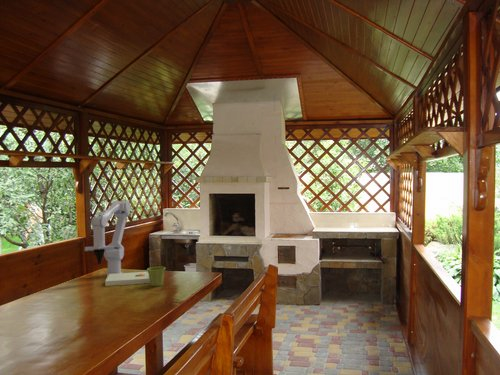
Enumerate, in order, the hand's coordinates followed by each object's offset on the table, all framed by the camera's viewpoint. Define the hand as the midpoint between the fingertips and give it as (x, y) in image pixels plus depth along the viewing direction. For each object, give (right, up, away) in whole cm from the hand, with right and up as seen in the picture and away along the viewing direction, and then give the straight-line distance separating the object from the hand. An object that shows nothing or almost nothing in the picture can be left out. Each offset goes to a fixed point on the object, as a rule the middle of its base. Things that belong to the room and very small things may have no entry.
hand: (99, 263), depth 225 cm
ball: (+22, -8, +3) cm, 23 cm away
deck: (+16, -10, +2) cm, 19 cm away
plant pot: (+33, -10, -9) cm, 35 cm away
